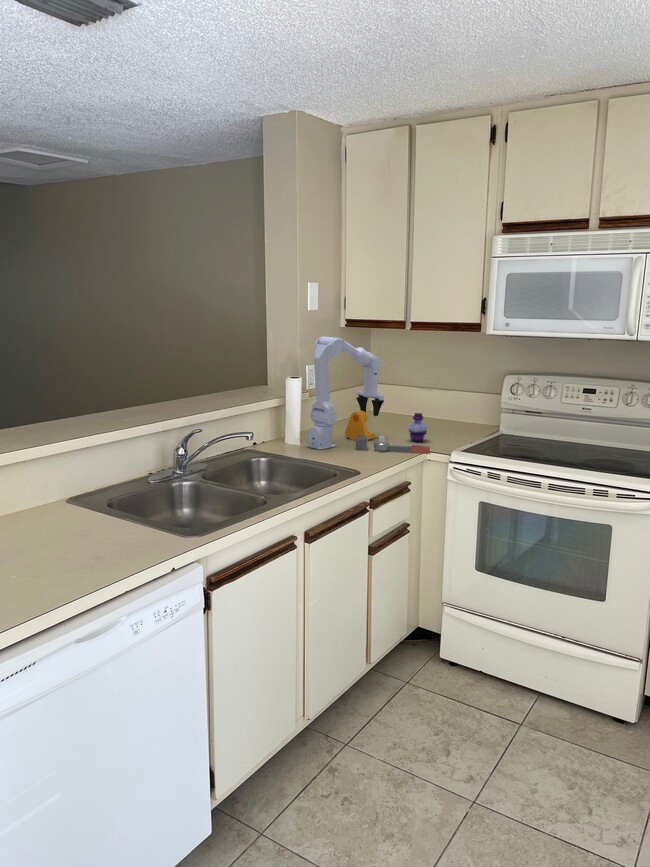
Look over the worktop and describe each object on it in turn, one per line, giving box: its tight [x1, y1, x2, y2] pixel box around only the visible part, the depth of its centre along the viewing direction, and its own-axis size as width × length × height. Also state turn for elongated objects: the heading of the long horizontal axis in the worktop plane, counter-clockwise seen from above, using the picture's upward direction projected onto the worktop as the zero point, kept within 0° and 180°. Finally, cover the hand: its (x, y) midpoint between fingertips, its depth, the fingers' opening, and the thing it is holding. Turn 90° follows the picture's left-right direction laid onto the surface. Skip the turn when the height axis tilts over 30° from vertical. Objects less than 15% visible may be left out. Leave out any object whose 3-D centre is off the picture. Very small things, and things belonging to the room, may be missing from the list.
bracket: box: [344, 410, 375, 441], centre depth 284 cm, size 11×7×12 cm, turn 51°
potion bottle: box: [407, 412, 429, 444], centre depth 280 cm, size 9×9×12 cm
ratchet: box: [373, 435, 431, 455], centre depth 263 cm, size 22×6×6 cm, turn 81°
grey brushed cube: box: [355, 435, 369, 451], centre depth 266 cm, size 4×4×5 cm
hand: (369, 414), depth 285 cm, fingers open, 7 cm apart
